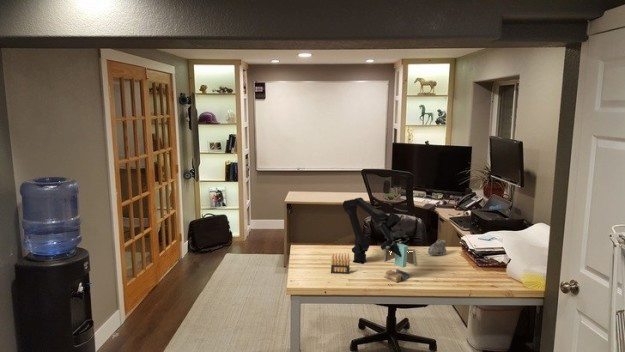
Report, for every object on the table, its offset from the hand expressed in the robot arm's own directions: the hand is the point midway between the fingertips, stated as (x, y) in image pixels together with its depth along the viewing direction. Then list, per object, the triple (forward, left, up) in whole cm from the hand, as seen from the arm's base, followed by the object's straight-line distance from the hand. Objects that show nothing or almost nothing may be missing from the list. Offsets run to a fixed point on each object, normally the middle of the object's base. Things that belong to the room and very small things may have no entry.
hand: (403, 255), depth 238 cm
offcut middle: (-4, -4, -11) cm, 13 cm away
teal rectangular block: (-1, 0, -6) cm, 6 cm away
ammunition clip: (-34, -8, -14) cm, 37 cm away
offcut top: (-3, -5, -10) cm, 12 cm away
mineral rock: (+11, +49, -14) cm, 52 cm away
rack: (-2, -2, -14) cm, 14 cm away
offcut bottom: (-4, -5, -12) cm, 14 cm away
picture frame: (-10, +34, -14) cm, 38 cm away
